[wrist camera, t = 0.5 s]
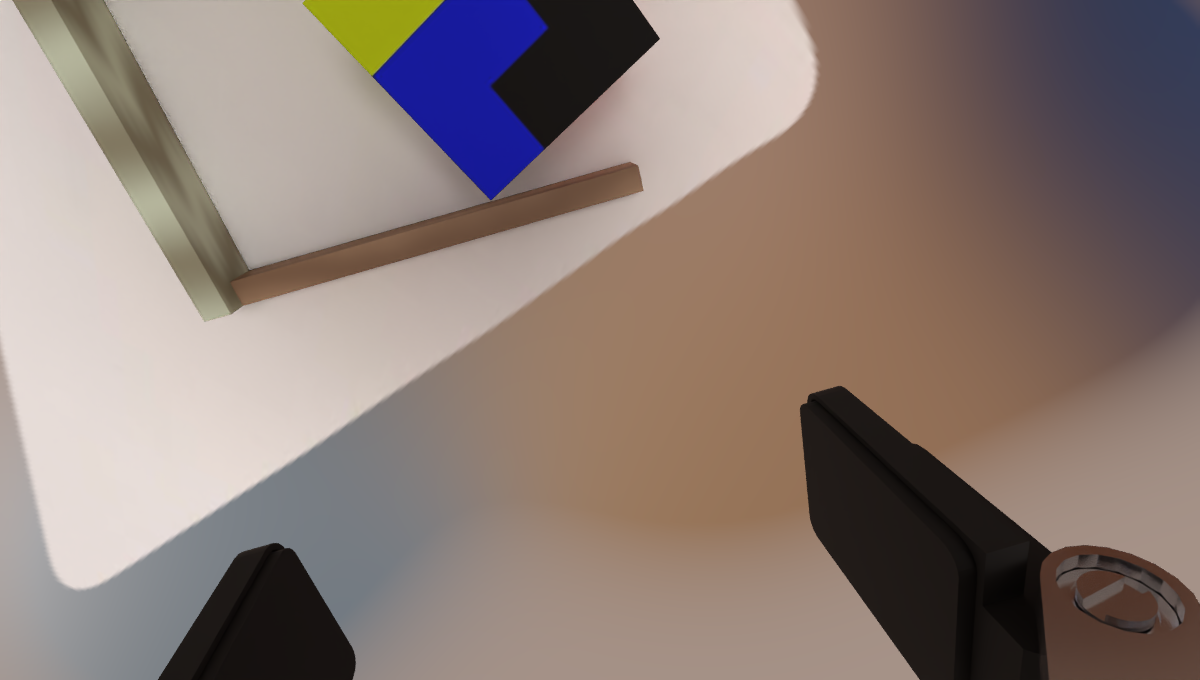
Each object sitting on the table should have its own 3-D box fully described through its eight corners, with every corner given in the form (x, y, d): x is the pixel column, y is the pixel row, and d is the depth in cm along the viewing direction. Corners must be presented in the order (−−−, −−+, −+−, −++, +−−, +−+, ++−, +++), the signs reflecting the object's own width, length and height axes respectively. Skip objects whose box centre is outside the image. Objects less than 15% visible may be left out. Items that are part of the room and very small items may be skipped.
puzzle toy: (497, 177, 34) (490, 200, 25) (366, 36, 30) (302, 3, 21) (618, 59, 33) (659, 38, 23) (497, -104, 29) (489, -205, 20)
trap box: (38, -56, 27) (-37, -83, 23) (551, -191, 28) (556, -237, 24) (237, 299, 34) (204, 321, 31) (635, 185, 35) (649, 194, 32)
